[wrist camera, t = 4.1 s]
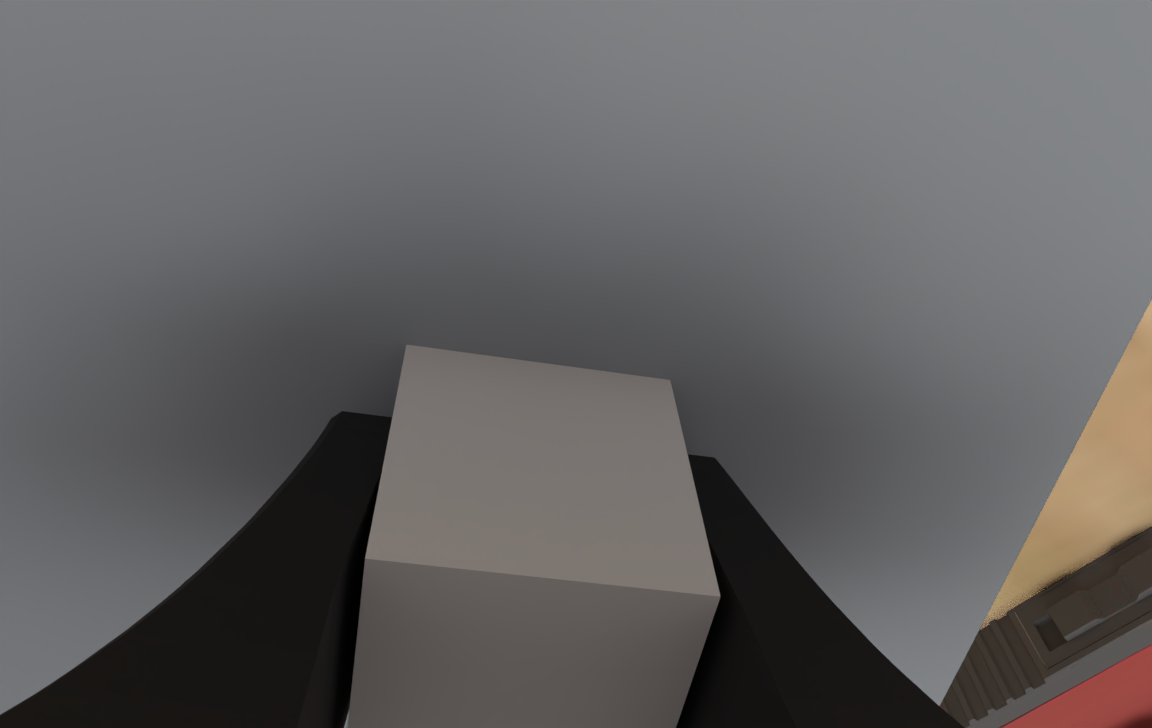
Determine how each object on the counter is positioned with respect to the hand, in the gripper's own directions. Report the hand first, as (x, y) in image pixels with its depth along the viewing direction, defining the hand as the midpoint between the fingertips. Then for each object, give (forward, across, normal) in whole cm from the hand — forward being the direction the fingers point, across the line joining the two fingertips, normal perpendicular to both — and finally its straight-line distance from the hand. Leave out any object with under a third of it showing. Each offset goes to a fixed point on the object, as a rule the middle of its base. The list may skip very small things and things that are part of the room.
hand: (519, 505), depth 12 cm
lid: (+1, 0, 0) cm, 1 cm away
